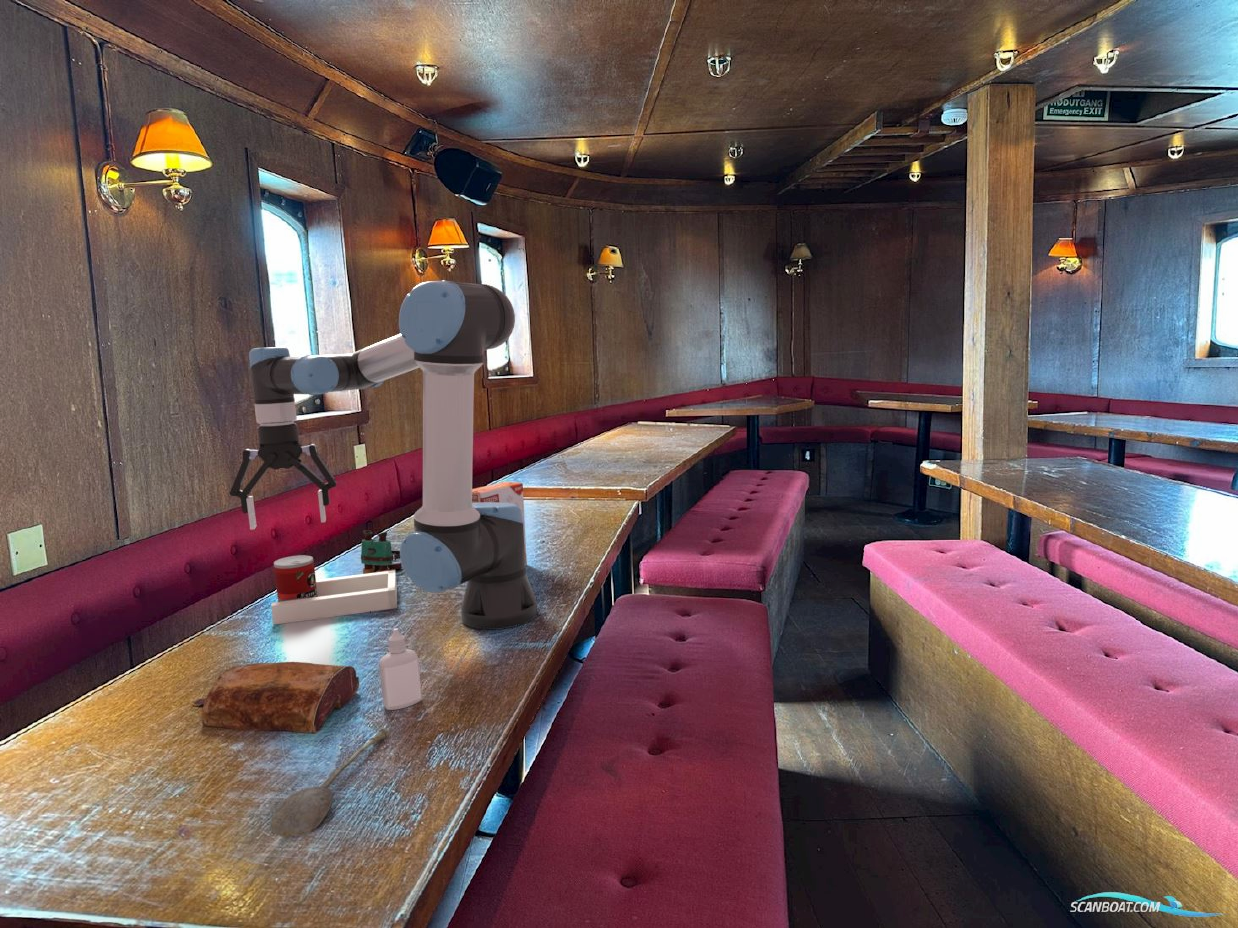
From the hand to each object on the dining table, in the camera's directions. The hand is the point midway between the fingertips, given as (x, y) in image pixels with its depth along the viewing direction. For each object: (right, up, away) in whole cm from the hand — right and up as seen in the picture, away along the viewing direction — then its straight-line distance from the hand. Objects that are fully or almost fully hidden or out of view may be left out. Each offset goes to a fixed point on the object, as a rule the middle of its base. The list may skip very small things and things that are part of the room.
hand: (289, 524), depth 155 cm
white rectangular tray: (+9, -18, +5) cm, 20 cm away
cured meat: (+15, -25, -39) cm, 49 cm away
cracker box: (+40, -13, +24) cm, 49 cm away
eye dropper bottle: (+36, -24, -42) cm, 60 cm away
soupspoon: (+34, -28, -61) cm, 75 cm away
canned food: (+1, -19, +3) cm, 19 cm away
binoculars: (+11, -14, +29) cm, 34 cm away
